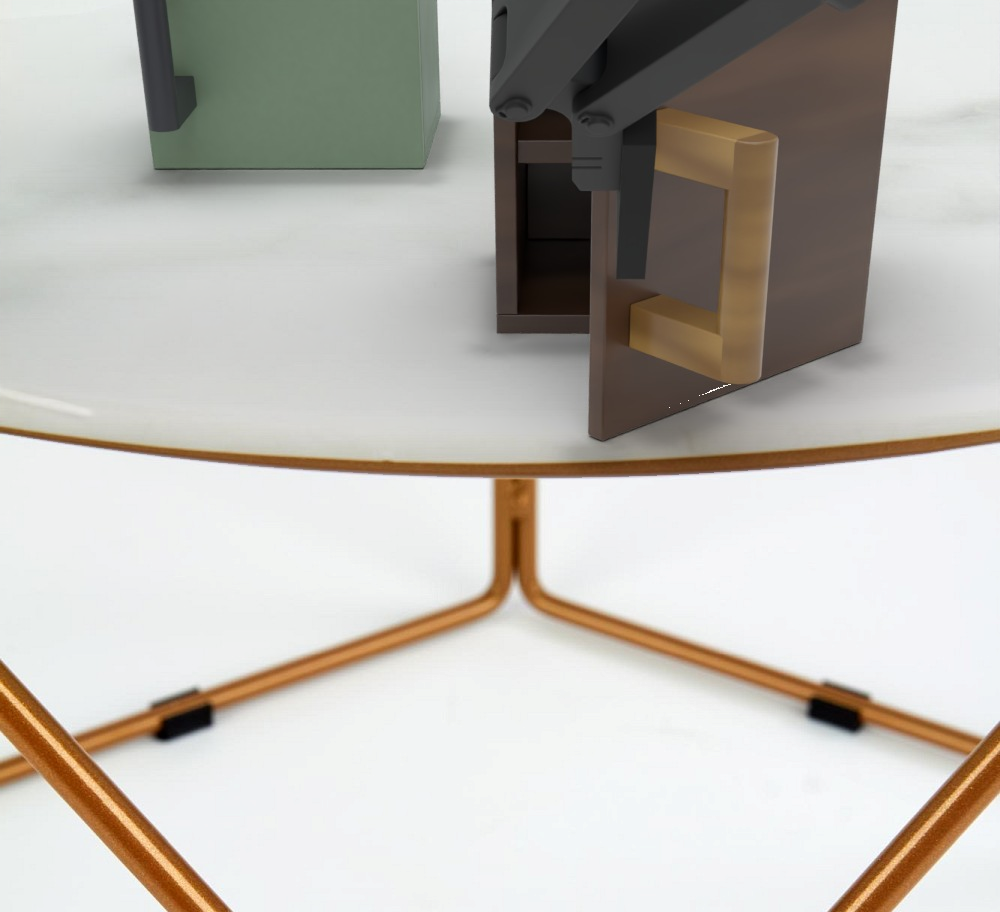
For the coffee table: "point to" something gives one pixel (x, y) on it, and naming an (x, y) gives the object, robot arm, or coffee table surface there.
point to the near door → (747, 223)
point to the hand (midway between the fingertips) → (891, 232)
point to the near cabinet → (540, 229)
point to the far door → (282, 83)
